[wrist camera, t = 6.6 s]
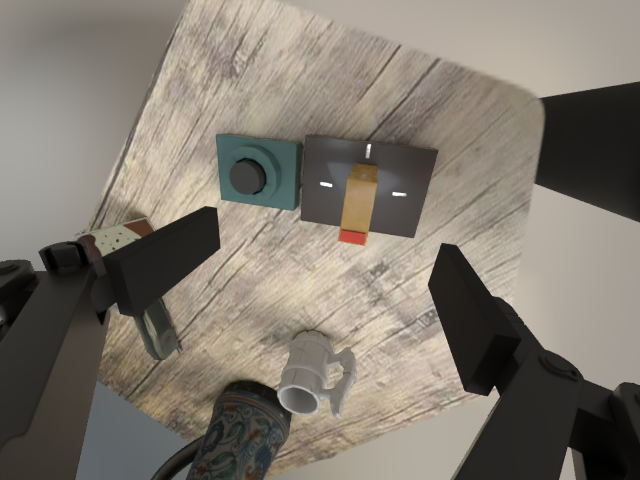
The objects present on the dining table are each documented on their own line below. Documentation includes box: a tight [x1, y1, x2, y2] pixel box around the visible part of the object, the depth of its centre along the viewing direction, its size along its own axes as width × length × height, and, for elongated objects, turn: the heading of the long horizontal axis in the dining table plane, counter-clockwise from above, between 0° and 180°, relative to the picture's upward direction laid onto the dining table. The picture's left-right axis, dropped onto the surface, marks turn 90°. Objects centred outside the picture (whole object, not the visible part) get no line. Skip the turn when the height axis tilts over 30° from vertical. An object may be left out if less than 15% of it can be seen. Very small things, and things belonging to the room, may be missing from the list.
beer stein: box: [151, 381, 292, 480], centre depth 44 cm, size 16×19×25 cm
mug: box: [277, 331, 357, 420], centre depth 38 cm, size 8×12×12 cm, turn 108°
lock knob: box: [338, 163, 378, 246], centre depth 25 cm, size 6×2×9 cm, turn 174°
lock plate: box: [301, 135, 438, 238], centre depth 30 cm, size 14×10×3 cm
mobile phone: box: [133, 297, 182, 361], centre depth 47 cm, size 5×3×15 cm
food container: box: [70, 217, 156, 310], centre depth 38 cm, size 12×6×10 cm, turn 22°
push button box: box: [216, 134, 302, 211], centre depth 31 cm, size 10×8×4 cm
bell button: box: [229, 160, 265, 195], centre depth 29 cm, size 4×4×2 cm
